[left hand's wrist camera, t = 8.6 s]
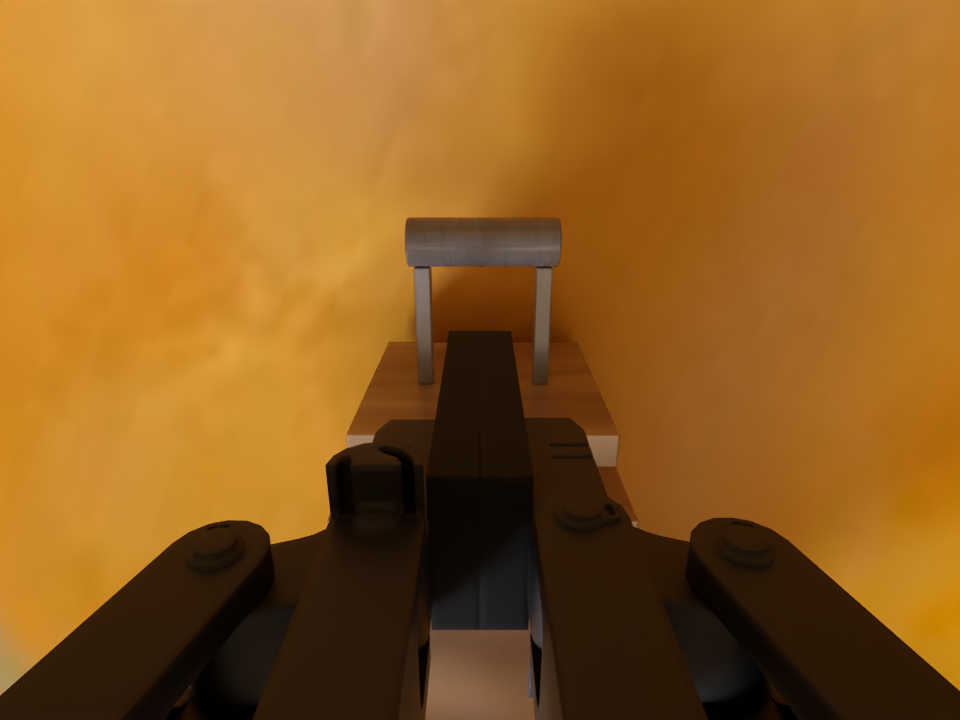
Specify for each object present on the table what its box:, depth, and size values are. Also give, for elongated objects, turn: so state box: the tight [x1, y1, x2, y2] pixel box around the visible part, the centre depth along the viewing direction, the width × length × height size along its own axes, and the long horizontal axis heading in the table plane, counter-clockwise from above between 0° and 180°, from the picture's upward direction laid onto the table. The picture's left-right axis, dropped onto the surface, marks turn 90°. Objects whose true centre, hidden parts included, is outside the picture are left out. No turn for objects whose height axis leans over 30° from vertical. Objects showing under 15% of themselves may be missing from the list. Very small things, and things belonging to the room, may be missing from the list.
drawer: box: [346, 218, 620, 467], centre depth 26 cm, size 26×9×9 cm, turn 0°
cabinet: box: [328, 467, 638, 720], centre depth 28 cm, size 20×10×11 cm, turn 0°
